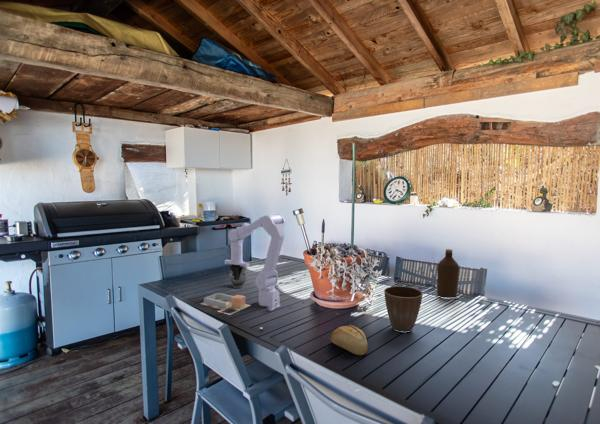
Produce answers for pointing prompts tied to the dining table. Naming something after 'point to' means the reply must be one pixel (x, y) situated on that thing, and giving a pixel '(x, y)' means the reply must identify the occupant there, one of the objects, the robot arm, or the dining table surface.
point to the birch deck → (228, 305)
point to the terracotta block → (238, 301)
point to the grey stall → (217, 303)
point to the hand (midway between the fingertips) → (236, 279)
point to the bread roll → (350, 339)
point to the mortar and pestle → (241, 280)
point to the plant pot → (402, 306)
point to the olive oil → (447, 276)
